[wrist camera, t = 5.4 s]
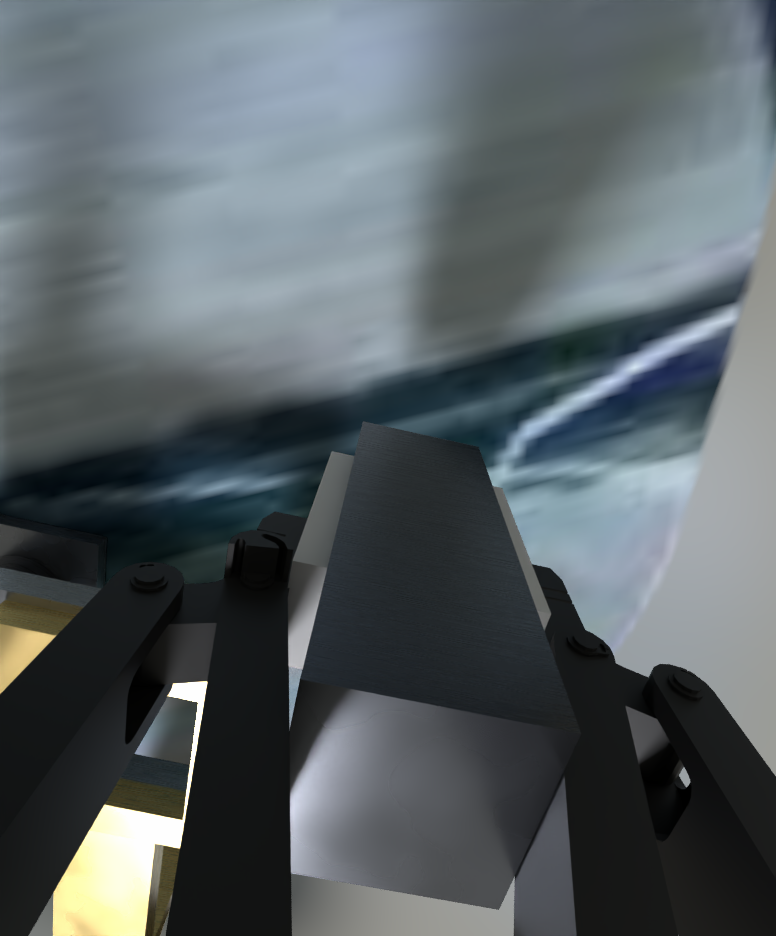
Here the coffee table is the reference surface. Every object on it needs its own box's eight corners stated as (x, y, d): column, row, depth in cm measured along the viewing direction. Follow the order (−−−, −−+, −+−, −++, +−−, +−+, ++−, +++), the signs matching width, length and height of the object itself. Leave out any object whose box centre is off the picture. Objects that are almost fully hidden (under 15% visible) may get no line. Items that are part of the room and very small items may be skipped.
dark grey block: (363, 421, 19) (299, 679, 8) (478, 447, 19) (581, 734, 8) (340, 525, 20) (261, 868, 9) (448, 547, 20) (498, 909, 9)
